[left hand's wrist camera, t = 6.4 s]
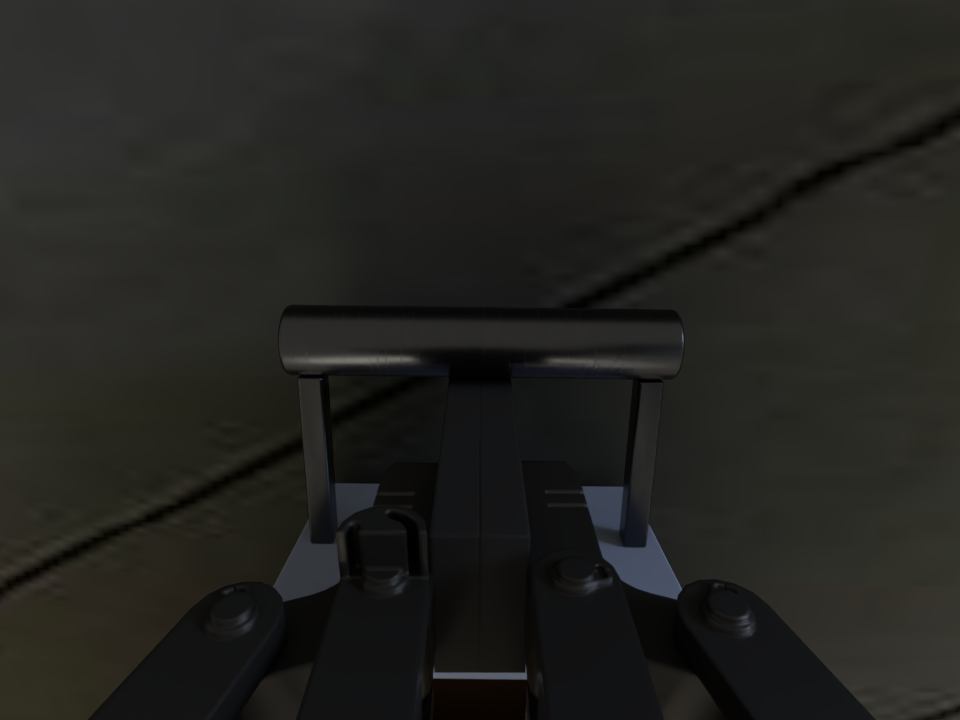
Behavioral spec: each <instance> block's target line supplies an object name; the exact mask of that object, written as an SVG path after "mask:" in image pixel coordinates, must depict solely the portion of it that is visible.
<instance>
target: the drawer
mask: <svg viewBox="0 0 960 720" xmlns="http://www.w3.org/2000/svg"><path fill="white" fill-rule="evenodd" d="M278 348H279V355H280V360H281V364H282V366H283V369H284V370H285V372H286V373H288V374H290V375H300V376H299V377H298V391H299V404H300V416H301V429H302V441H303V454H304V467H305V479H306V492H307V504H308V517H309V519H308V521H307V523H306V525H305V527H304V529H303V531H302V533H301V534H300V536H299V538H298V540H297V542H296V544H295V546H294V548H293V550H292V552H291V553H290V555H289V557H288V559H287V561H286V563H285V565H284V567H283V569H282V571H281V572H280V574H279V576H278V578H277V580H276V582H275V584H274V586H273V587H274V588H275V589H276V590H277V591H278V593H279V594H280V595H281V596H282V598H283V602H284V601H288V600H292V599H296V598H300V597H305V596H309V595H312V594H315V593H318V592H321V591H324V590H326V589H328V588H330V587H332V586H334V585H335V584H337V583H338V582H339V581H340V571H339V562H338V552H337V543H336V534H335V532H336V531H337V529H338V528H339V526H340V525H341V523H342V522H343V521H344V520H345V519H347V518H348V517H350V516H351V515H353V514H354V513H356V512H358V511H361V510H364V509H367V508H369V507H373V504H374V500H375V497H376V496H377V490H378V487H379V484H356V483H335V475H334V459H333V444H332V428H331V412H330V397H329V381H328V375H334V376H413V377H491V378H570V379H633V388H632V399H631V409H630V420H629V431H628V442H627V453H626V464H625V474H624V485H623V487H602V486H582V488H583V494H584V495H585V499H586V502H587V507H588V509H589V512H590V516H591V519H592V522H593V526H594V529H595V533H596V536H597V540H598V543H599V546H600V550H601V553H602V557H603V558H604V559H605V560H606V561H608V562H609V563H610V564H611V565H613V567H614V568H615V570H616V572H617V574H618V575H619V577H620V579H621V580H622V581H623V582H625V583H627V584H629V585H631V586H633V587H635V588H637V589H640V590H643V591H646V592H649V593H652V594H656V595H661V596H665V597H669V598H673V599H677V597H678V594H679V593H680V592H681V590H682V588H681V586H680V584H679V582H678V580H677V578H676V576H675V574H674V572H673V571H672V569H671V567H670V565H669V563H668V561H667V559H666V557H665V555H664V553H663V551H662V549H661V547H660V545H659V543H658V541H657V539H656V537H655V535H654V533H653V531H652V529H651V527H650V525H649V516H650V507H651V498H652V489H653V479H654V470H655V461H656V452H657V442H658V433H659V424H660V415H661V405H662V396H663V387H664V383H663V381H662V380H671V379H673V378H675V377H676V376H677V375H678V373H679V371H680V369H681V365H682V361H683V356H684V330H683V325H682V321H681V318H680V316H679V314H678V313H677V312H676V311H674V310H651V309H574V308H498V307H421V306H344V305H290V306H287V307H286V308H285V310H284V311H283V314H282V316H281V320H280V325H279V332H278ZM433 694H434V710H433V720H525V719H526V694H527V672H526V669H525V673H433Z"/></svg>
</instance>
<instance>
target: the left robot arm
mask: <svg viewBox="0 0 960 720" xmlns="http://www.w3.org/2000/svg"><path fill="white" fill-rule="evenodd" d="M335 534H336V543H337V552H338V562H339V571H340V581H339V582H338V583H337V584H335V585H334V586H332V587H330V588H328V589H326V590H324V591H321V592H318V593H315V594H312V595H309V596H305V597H300V598H296V599H292V600H288V601H284V602H283V598H282V596H281V595H280V594H279V593H278V591H277V590H276V589H275V588H274V587H272V586H269V585H267V584H264V583H262V582H241V583H237V584H233V585H229V586H225V587H223V588H221V589H219V590H217V591H215V592H212V593H210V594H208V595H207V596H205V597H204V598H203V599H202V600H201V601H199V602H198V603H197V604H196V605H194V606H193V607H192V608H191V609H190V610H189V611H188V612H187V614H186V615H185V616H184V617H183V618H182V619H181V620H180V621H179V622H178V623H177V624H176V625H175V626H174V627H173V629H172V630H171V631H170V632H169V633H168V634H167V635H166V636H165V637H164V638H163V639H162V640H161V641H160V643H159V644H158V645H157V646H156V647H155V648H154V649H153V650H152V651H151V652H150V653H149V654H148V655H147V657H146V658H145V659H144V660H143V661H142V662H141V663H140V664H139V665H138V666H137V667H136V668H135V669H134V671H133V672H132V673H131V674H130V675H129V676H128V677H127V678H126V679H125V680H124V681H123V682H122V683H121V685H120V686H119V687H118V688H117V689H116V690H115V691H114V692H113V693H112V694H111V695H110V696H109V697H108V699H107V700H106V701H105V702H104V703H103V704H102V705H101V706H100V707H99V708H98V709H97V710H96V711H95V713H94V714H93V715H92V716H91V717H90V718H89V719H88V720H433V710H434V694H433V673H525V669H526V672H527V694H526V719H525V720H875V719H874V717H873V716H872V715H871V714H870V713H869V712H868V711H867V710H866V709H865V708H864V707H863V706H862V705H861V704H860V703H859V701H858V700H857V699H856V698H855V697H854V696H853V695H852V694H851V693H850V692H849V691H848V690H847V689H846V688H845V686H844V685H843V684H842V683H841V682H840V681H839V680H838V679H837V678H836V677H835V676H834V675H833V674H832V673H831V672H830V670H829V669H828V668H827V667H826V666H825V665H824V664H823V663H822V662H821V661H820V660H819V659H818V658H817V657H816V655H815V654H814V653H813V652H812V651H811V650H810V649H809V648H808V647H807V646H806V645H805V644H804V643H803V642H802V641H801V639H800V638H799V637H798V636H797V635H796V634H795V633H794V632H793V631H792V630H791V629H790V628H789V627H788V626H787V624H786V623H785V622H784V621H783V620H782V619H781V618H780V617H779V616H778V615H777V614H776V613H775V612H774V611H773V609H772V608H771V607H770V606H769V605H768V604H766V603H765V602H764V601H763V600H762V599H760V598H759V597H758V596H757V595H755V594H754V593H753V592H751V591H749V590H747V589H745V588H742V587H740V586H738V585H736V584H733V583H729V582H725V581H720V580H698V581H695V582H693V583H690V584H688V585H686V586H685V587H684V588H683V589H682V590H681V592H680V593H679V594H678V597H677V599H673V598H669V597H665V596H661V595H656V594H652V593H649V592H646V591H643V590H640V589H637V588H635V587H633V586H631V585H629V584H627V583H625V582H623V581H622V580H621V579H620V577H619V575H618V574H617V572H616V570H615V568H614V567H613V565H611V564H610V563H609V562H608V561H606V560H605V559H604V558H603V557H602V553H601V550H600V546H599V543H598V540H597V536H596V533H595V529H594V526H593V522H592V519H591V516H590V512H589V509H588V507H587V502H586V499H585V495H584V494H583V488H582V485H581V481H580V478H579V475H578V474H577V473H576V472H575V471H574V470H573V469H572V468H571V467H570V466H569V465H568V464H567V463H566V462H565V461H521V456H520V449H519V441H518V433H517V425H516V417H515V409H514V401H513V393H512V386H511V378H491V377H449V384H448V392H447V400H446V408H445V416H444V424H443V431H442V439H441V447H440V455H439V463H395V464H394V465H393V466H392V467H391V468H390V469H389V470H388V471H387V472H386V473H384V474H383V475H382V476H381V480H380V483H379V487H378V490H377V496H376V497H375V500H374V504H373V507H369V508H367V509H364V510H361V511H358V512H356V513H354V514H353V515H351V516H350V517H348V518H347V519H345V520H344V521H343V522H342V523H341V525H340V526H339V528H338V529H337V531H336V532H335Z"/></svg>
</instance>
